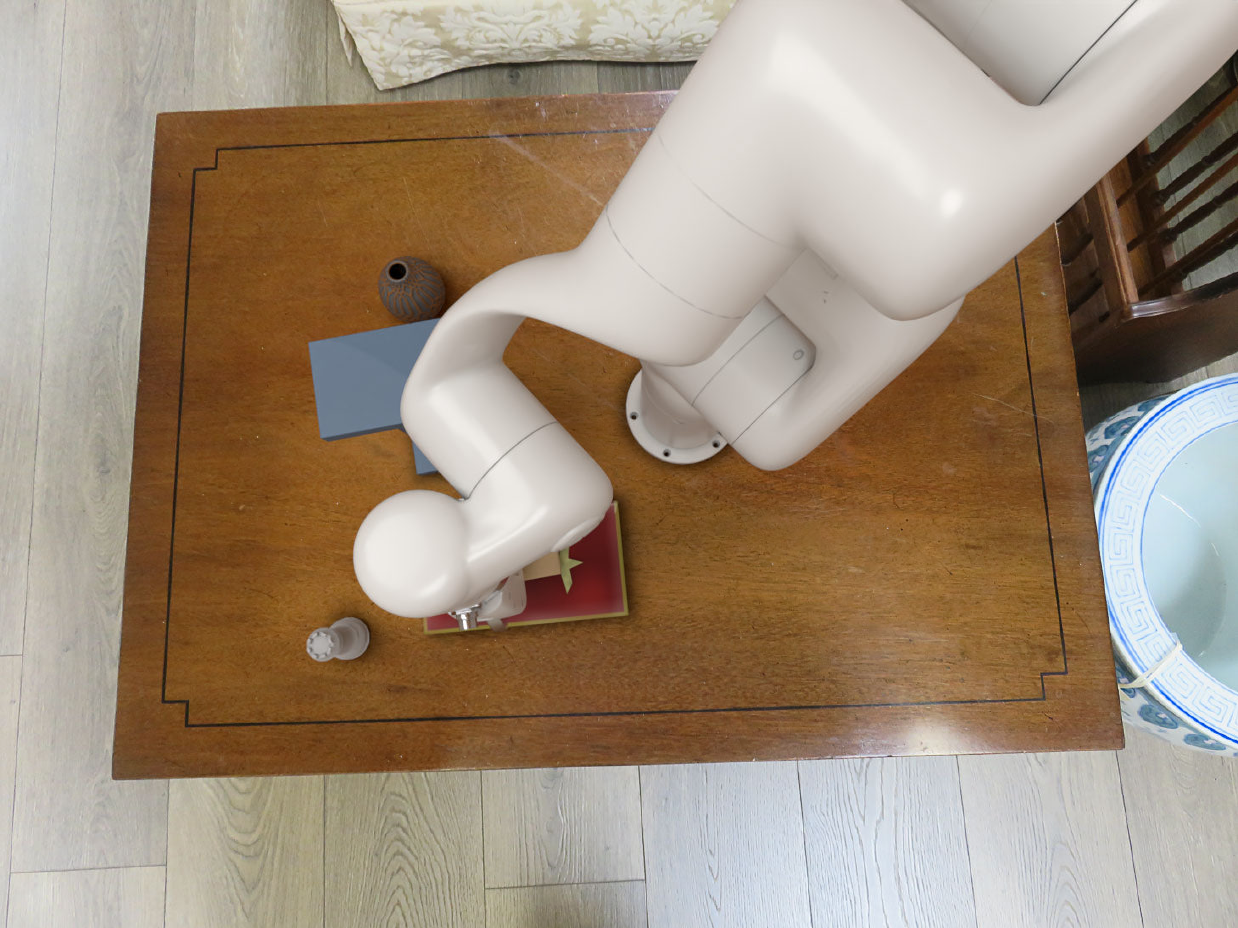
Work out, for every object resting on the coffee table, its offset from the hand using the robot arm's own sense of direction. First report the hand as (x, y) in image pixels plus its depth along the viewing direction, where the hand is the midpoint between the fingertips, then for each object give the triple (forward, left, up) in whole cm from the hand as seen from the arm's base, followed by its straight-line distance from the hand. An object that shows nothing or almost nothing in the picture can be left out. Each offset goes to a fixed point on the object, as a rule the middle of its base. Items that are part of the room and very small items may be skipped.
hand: (503, 561), depth 71 cm
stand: (+3, -15, -8) cm, 18 cm away
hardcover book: (-1, +1, -8) cm, 8 cm away
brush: (0, 0, -4) cm, 4 cm away
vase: (+6, -31, -8) cm, 33 cm away
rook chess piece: (+19, +5, -8) cm, 21 cm away
